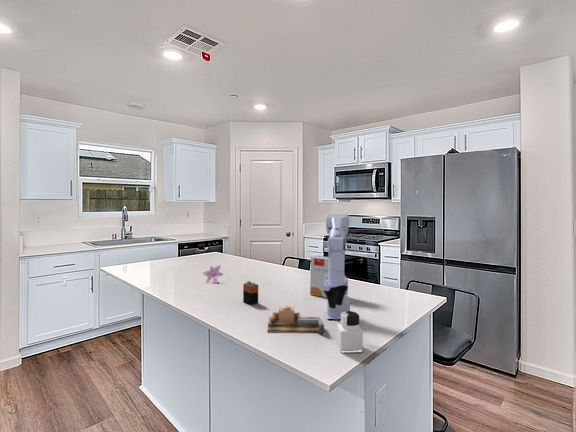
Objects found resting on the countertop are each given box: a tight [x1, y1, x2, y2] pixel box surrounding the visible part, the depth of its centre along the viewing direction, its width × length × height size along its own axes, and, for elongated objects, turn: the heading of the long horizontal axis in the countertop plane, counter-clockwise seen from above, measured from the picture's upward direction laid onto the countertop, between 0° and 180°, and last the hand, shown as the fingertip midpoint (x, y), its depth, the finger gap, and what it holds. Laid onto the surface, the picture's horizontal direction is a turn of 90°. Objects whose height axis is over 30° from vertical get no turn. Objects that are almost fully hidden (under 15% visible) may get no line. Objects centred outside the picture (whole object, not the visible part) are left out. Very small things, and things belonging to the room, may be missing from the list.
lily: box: [202, 264, 224, 285], centre depth 197 cm, size 12×12×10 cm
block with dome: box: [278, 305, 295, 323], centre depth 130 cm, size 6×4×6 cm, turn 91°
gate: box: [298, 318, 325, 335], centre depth 123 cm, size 9×8×3 cm
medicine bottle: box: [336, 310, 364, 351], centre depth 108 cm, size 7×7×12 cm
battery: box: [242, 280, 259, 306], centre depth 156 cm, size 4×7×10 cm, turn 44°
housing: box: [267, 311, 321, 333], centre depth 128 cm, size 21×14×3 cm, turn 90°
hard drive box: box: [309, 255, 329, 298], centre depth 170 cm, size 16×8×20 cm, turn 62°
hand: (335, 306), depth 119 cm, fingers open, 4 cm apart
